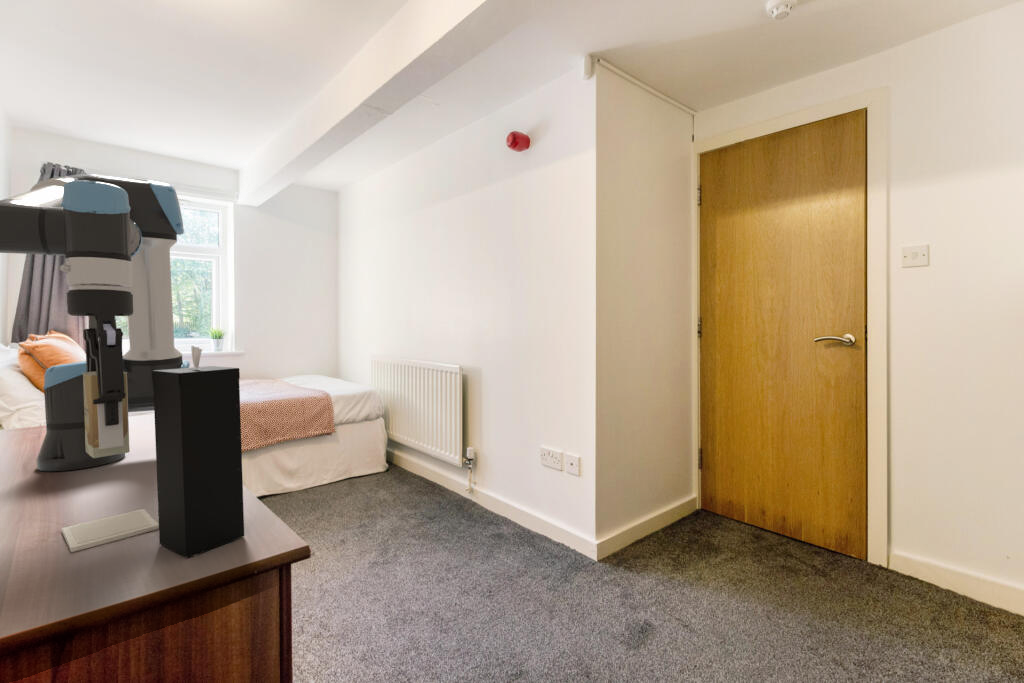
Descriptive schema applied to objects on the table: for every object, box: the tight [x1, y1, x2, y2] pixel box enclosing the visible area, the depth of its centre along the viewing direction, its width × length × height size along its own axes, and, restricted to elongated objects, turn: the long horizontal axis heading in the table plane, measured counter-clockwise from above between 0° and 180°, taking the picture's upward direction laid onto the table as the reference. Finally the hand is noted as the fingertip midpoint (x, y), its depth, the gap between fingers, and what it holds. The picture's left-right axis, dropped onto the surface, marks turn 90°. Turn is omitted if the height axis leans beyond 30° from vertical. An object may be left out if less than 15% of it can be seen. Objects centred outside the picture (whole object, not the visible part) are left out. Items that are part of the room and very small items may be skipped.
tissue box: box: [152, 345, 245, 559], centre depth 69 cm, size 8×8×28 cm
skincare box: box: [83, 371, 130, 458], centre depth 73 cm, size 6×4×12 cm
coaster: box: [61, 508, 159, 553], centre depth 73 cm, size 10×10×1 cm
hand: (107, 443), depth 73 cm, fingers closed on skincare box, 6 cm apart
